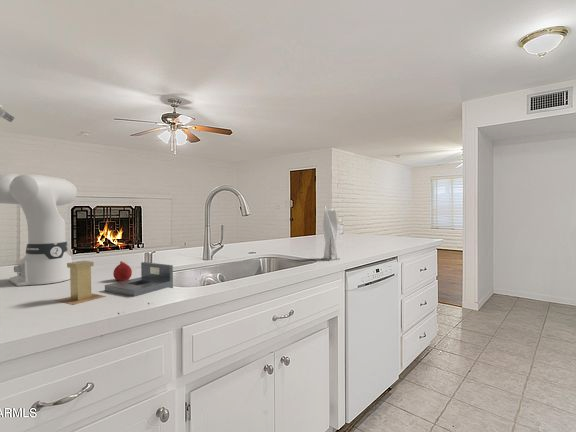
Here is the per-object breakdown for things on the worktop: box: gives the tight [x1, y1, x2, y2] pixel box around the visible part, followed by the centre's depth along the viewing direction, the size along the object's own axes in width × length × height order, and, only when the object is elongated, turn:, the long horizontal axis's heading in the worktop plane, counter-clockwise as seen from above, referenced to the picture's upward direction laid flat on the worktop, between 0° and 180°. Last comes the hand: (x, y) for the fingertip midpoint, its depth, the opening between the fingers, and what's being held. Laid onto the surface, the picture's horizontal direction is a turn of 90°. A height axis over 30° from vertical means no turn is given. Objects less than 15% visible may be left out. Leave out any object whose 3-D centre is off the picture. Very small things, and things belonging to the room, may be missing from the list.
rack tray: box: [104, 261, 174, 297], centre depth 99 cm, size 14×14×8 cm
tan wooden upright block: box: [67, 260, 95, 301], centre depth 88 cm, size 5×5×10 cm
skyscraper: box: [320, 205, 341, 261], centre depth 163 cm, size 8×8×28 cm
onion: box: [112, 260, 133, 282], centre depth 111 cm, size 6×6×8 cm
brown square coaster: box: [54, 292, 107, 306], centre depth 88 cm, size 9×9×1 cm
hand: (8, 117), depth 86 cm, fingers open, 8 cm apart
